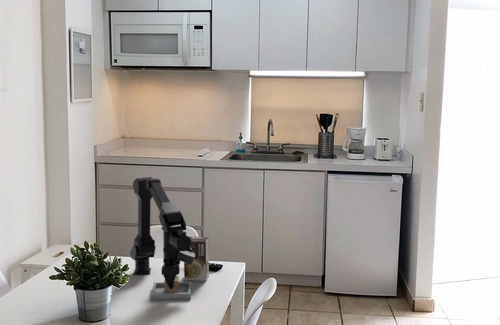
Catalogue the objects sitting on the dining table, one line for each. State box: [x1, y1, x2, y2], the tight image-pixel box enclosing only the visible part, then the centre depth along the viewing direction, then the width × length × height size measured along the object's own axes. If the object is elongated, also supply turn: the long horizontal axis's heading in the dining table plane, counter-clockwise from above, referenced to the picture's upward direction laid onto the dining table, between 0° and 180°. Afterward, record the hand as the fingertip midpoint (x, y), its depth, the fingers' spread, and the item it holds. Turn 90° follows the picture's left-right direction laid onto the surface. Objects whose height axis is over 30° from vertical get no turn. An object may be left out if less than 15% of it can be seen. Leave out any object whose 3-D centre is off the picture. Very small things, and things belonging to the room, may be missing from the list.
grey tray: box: [150, 281, 192, 301], centre depth 209 cm, size 12×14×2 cm
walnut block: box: [163, 275, 180, 293], centre depth 208 cm, size 5×5×5 cm
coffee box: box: [183, 236, 210, 282], centre depth 224 cm, size 9×6×16 cm
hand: (171, 285), depth 208 cm, fingers open, 7 cm apart
